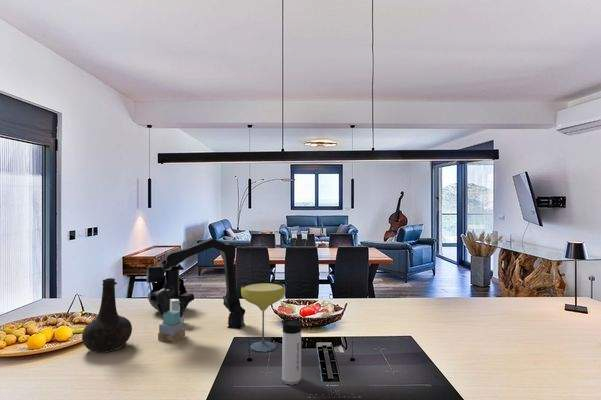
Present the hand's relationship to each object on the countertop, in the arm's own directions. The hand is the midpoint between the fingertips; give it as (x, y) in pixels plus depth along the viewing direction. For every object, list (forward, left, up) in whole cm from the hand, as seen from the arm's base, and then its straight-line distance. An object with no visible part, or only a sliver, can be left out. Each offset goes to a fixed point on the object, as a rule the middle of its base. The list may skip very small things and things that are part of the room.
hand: (171, 316), depth 160 cm
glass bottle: (+18, +17, -10) cm, 27 cm away
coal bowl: (+25, -33, -10) cm, 43 cm away
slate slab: (0, +1, -6) cm, 6 cm away
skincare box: (+8, -16, -10) cm, 20 cm away
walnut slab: (0, 0, -10) cm, 10 cm away
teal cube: (0, 0, -3) cm, 3 cm away
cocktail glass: (-42, -1, -10) cm, 43 cm away
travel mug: (-61, +23, -10) cm, 66 cm away
